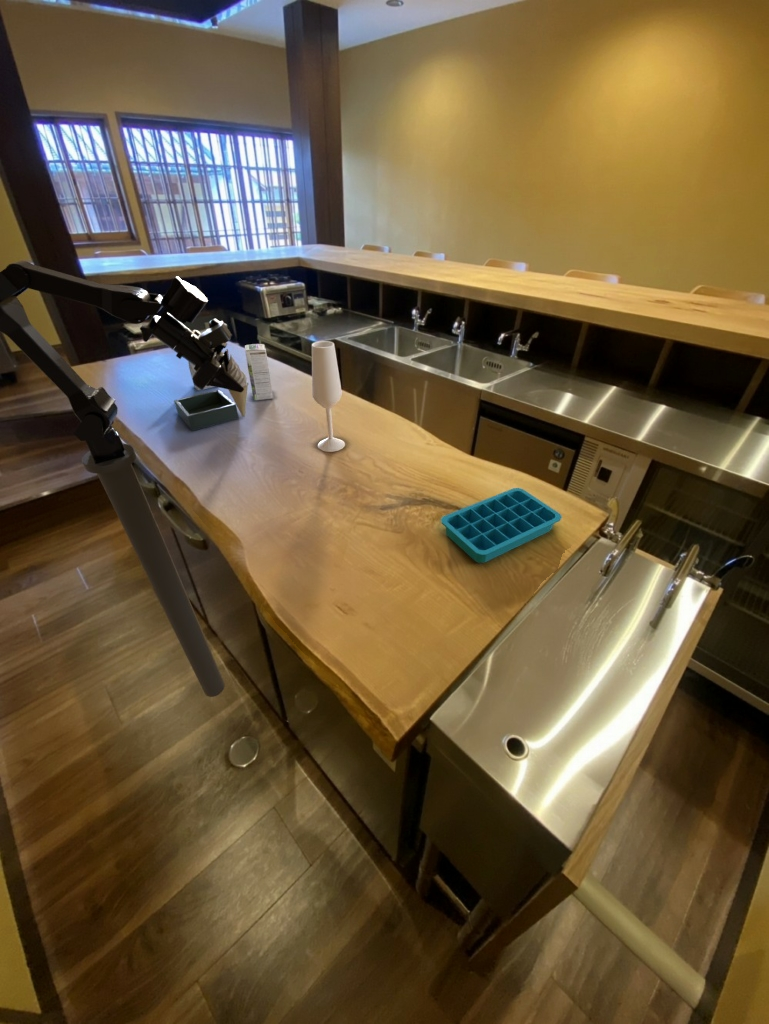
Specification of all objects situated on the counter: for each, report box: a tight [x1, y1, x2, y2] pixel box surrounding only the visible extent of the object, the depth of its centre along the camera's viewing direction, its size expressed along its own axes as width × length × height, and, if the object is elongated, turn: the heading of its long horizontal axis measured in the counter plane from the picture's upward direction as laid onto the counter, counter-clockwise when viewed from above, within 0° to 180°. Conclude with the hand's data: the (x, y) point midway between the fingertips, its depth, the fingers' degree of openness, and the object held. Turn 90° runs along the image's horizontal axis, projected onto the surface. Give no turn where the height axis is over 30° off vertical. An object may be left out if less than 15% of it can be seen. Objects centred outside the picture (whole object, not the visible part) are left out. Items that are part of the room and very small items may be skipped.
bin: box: [173, 389, 240, 432], centre depth 115 cm, size 13×13×4 cm
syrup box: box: [244, 343, 274, 401], centre depth 123 cm, size 6×6×14 cm
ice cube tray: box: [440, 487, 563, 564], centre depth 78 cm, size 12×20×3 cm, turn 121°
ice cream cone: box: [228, 354, 249, 418], centre depth 99 cm, size 5×5×15 cm
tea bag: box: [187, 361, 215, 391], centre depth 131 cm, size 4×7×10 cm, turn 129°
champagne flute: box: [311, 340, 346, 453], centre depth 97 cm, size 7×7×24 cm
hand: (243, 386), depth 99 cm, fingers closed on ice cream cone, 5 cm apart
